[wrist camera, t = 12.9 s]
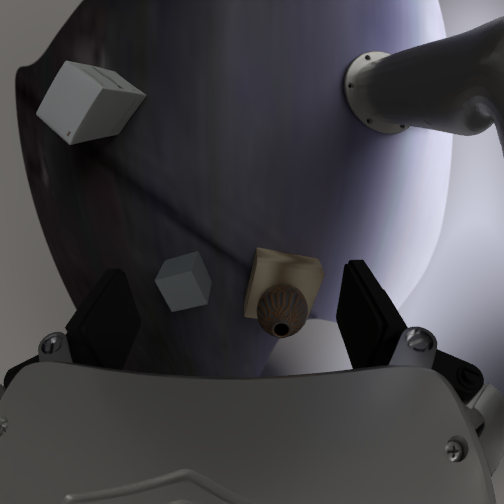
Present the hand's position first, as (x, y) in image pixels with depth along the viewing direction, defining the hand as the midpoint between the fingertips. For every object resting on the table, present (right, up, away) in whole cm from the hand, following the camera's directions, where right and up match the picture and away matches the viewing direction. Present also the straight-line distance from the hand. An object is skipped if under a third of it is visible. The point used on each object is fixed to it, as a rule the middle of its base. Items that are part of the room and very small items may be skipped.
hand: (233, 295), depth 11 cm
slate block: (-9, -1, +33) cm, 34 cm away
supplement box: (-19, +23, +20) cm, 36 cm away
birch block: (+5, -3, +34) cm, 34 cm away
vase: (+5, -5, +29) cm, 30 cm away
